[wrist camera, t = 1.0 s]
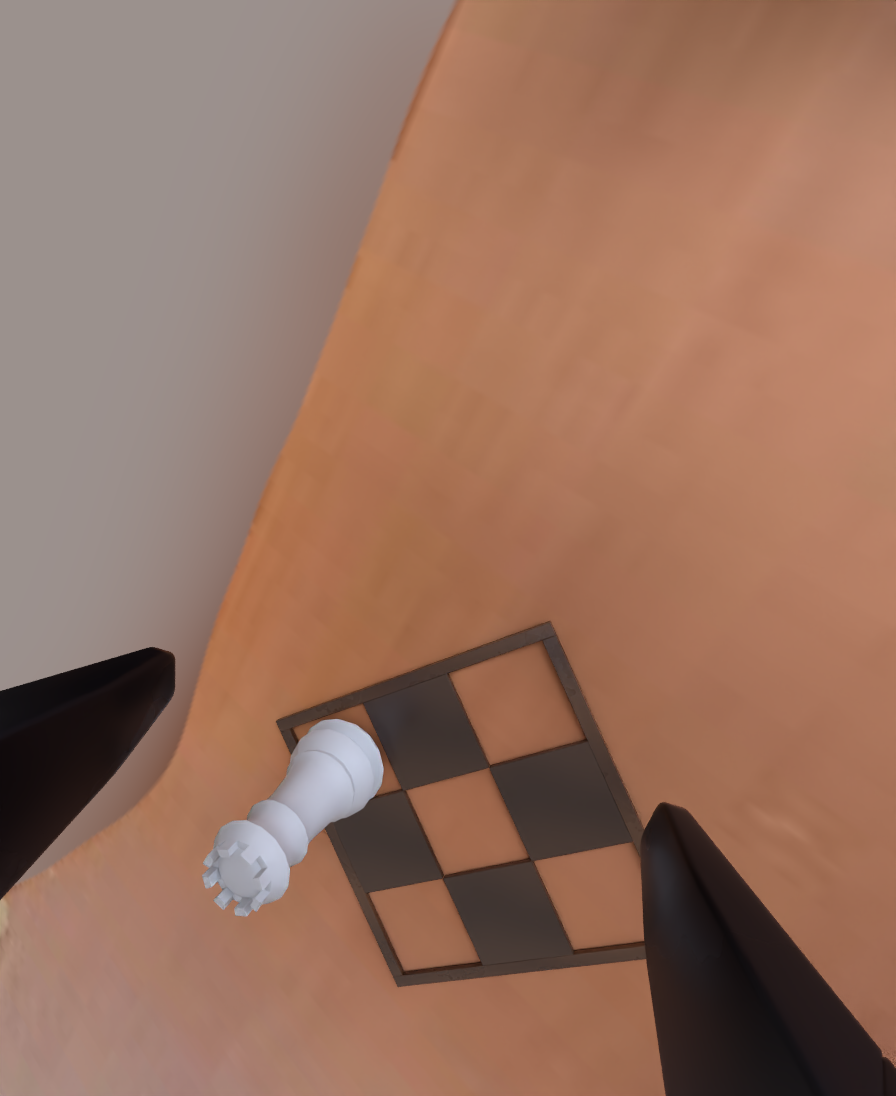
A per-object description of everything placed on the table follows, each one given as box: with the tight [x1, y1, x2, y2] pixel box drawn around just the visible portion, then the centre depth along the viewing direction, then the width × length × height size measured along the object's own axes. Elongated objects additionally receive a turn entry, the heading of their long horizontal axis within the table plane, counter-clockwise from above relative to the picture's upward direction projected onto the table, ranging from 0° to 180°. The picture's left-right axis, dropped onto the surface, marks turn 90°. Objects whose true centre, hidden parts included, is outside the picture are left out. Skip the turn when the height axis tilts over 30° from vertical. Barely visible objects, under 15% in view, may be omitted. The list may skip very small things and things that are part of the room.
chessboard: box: [276, 621, 646, 987], centre depth 23 cm, size 15×15×1 cm
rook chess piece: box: [202, 719, 384, 916], centre depth 21 cm, size 4×4×8 cm
